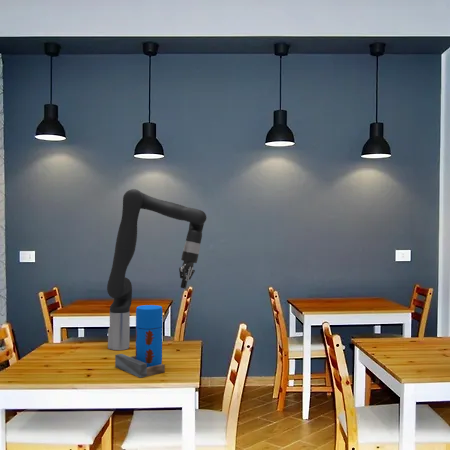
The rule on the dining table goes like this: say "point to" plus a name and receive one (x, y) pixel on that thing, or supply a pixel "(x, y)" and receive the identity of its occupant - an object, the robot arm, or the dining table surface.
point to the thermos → (149, 334)
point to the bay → (137, 366)
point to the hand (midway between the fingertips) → (183, 288)
